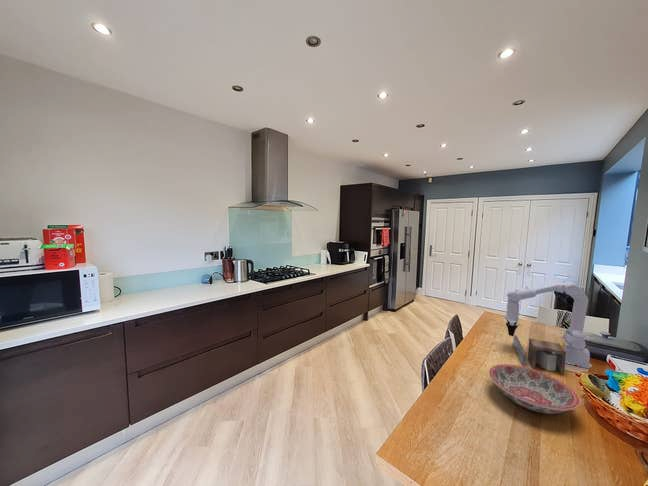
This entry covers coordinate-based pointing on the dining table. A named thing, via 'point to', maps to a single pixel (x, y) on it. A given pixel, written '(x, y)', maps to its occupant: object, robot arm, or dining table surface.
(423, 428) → the dining table surface
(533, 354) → the low cabinet
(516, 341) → the steel block
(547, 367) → the medicine box
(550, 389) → the ceramic bowl
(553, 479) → the dining table surface
